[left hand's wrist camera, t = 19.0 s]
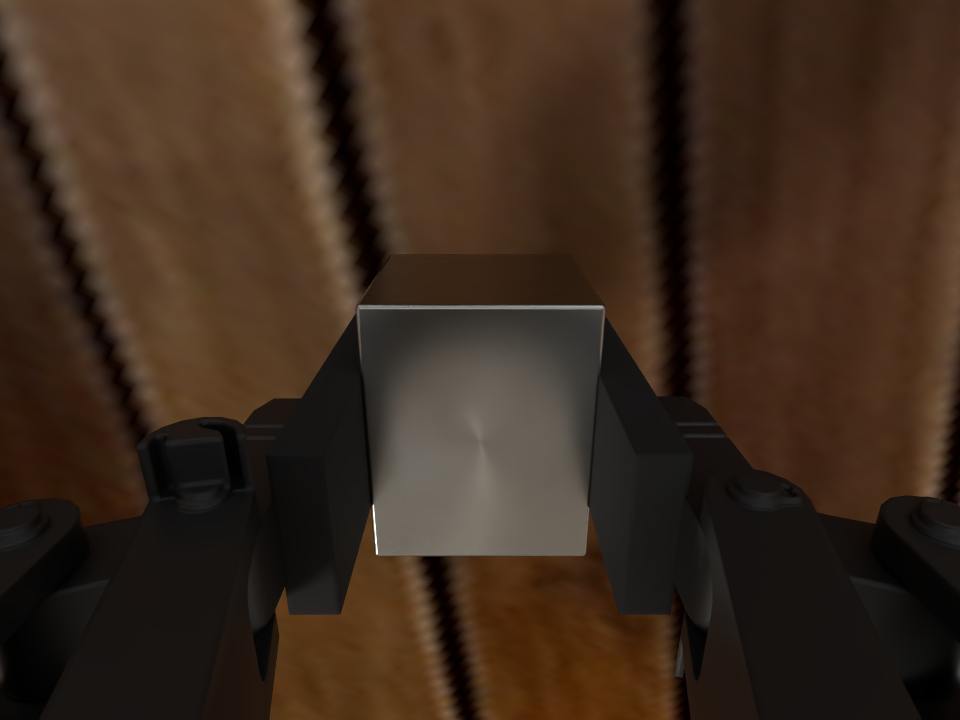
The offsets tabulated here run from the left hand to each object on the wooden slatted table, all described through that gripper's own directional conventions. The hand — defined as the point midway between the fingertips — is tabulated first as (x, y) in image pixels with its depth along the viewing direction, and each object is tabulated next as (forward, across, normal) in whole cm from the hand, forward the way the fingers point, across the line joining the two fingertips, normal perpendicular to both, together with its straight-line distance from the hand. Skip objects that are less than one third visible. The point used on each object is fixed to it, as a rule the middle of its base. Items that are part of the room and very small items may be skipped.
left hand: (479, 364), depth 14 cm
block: (0, 0, 0) cm, 0 cm away
